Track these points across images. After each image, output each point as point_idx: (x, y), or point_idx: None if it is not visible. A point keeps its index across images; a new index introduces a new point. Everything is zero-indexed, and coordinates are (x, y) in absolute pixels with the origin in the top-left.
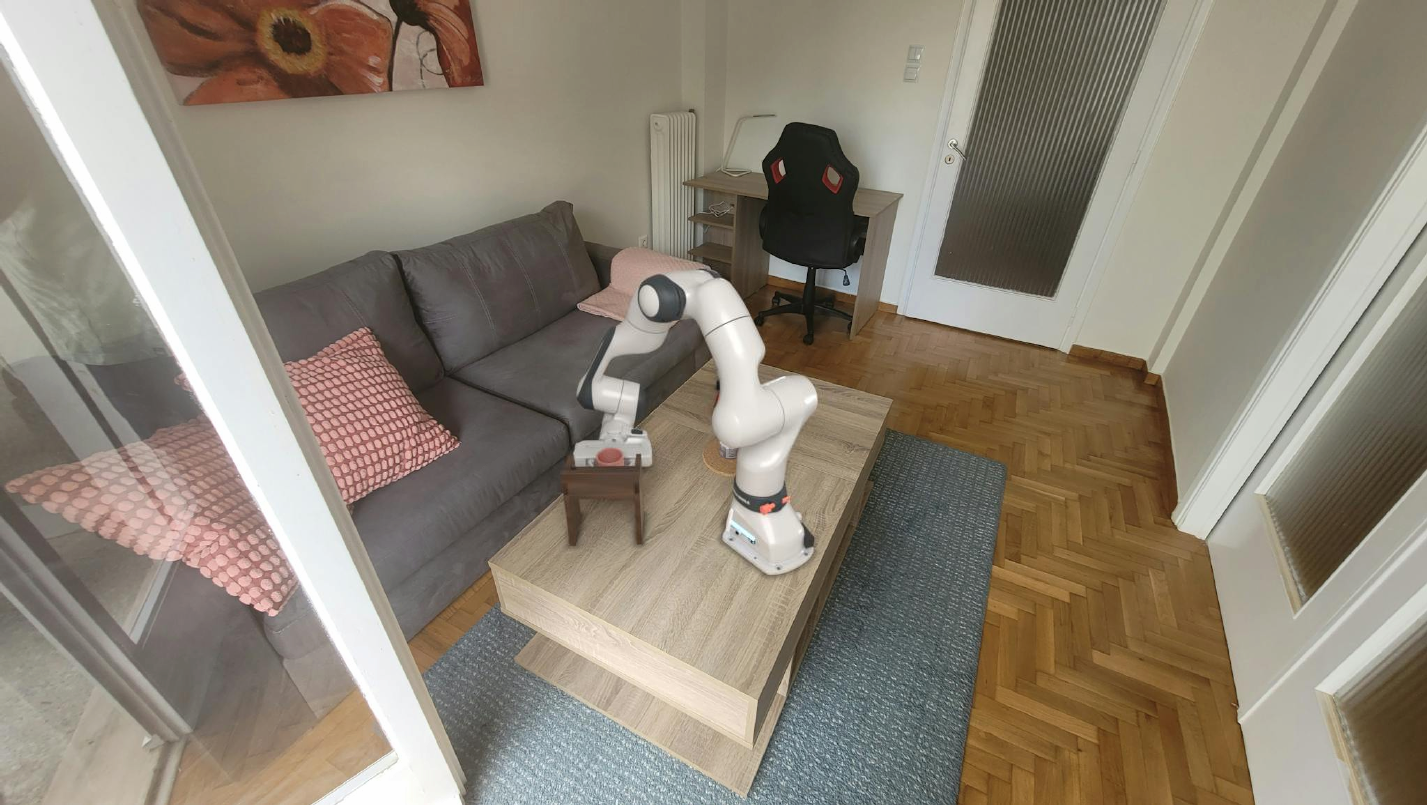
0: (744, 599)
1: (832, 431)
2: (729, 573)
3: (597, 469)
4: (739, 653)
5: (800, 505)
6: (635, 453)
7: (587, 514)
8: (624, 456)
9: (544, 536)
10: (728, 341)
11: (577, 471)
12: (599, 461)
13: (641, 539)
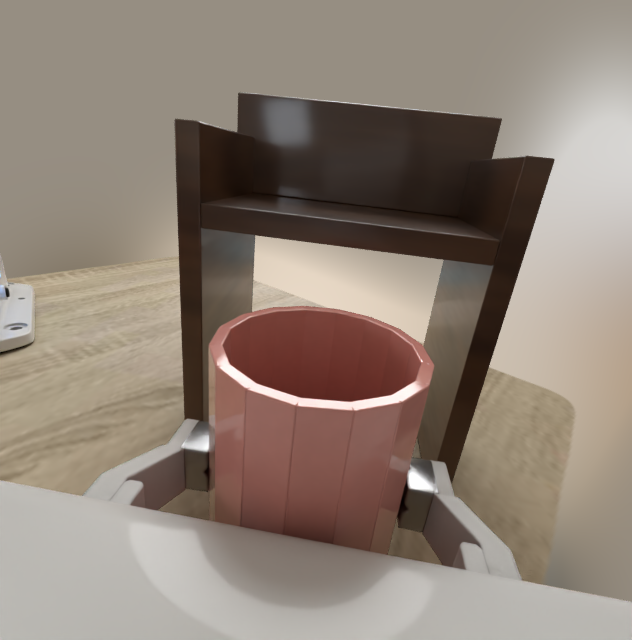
0: (113, 285)
1: None
2: (96, 306)
3: (384, 223)
4: (174, 265)
5: None
6: (29, 521)
7: None
8: (164, 513)
9: (516, 440)
10: None
11: (442, 112)
12: (391, 326)
13: None
